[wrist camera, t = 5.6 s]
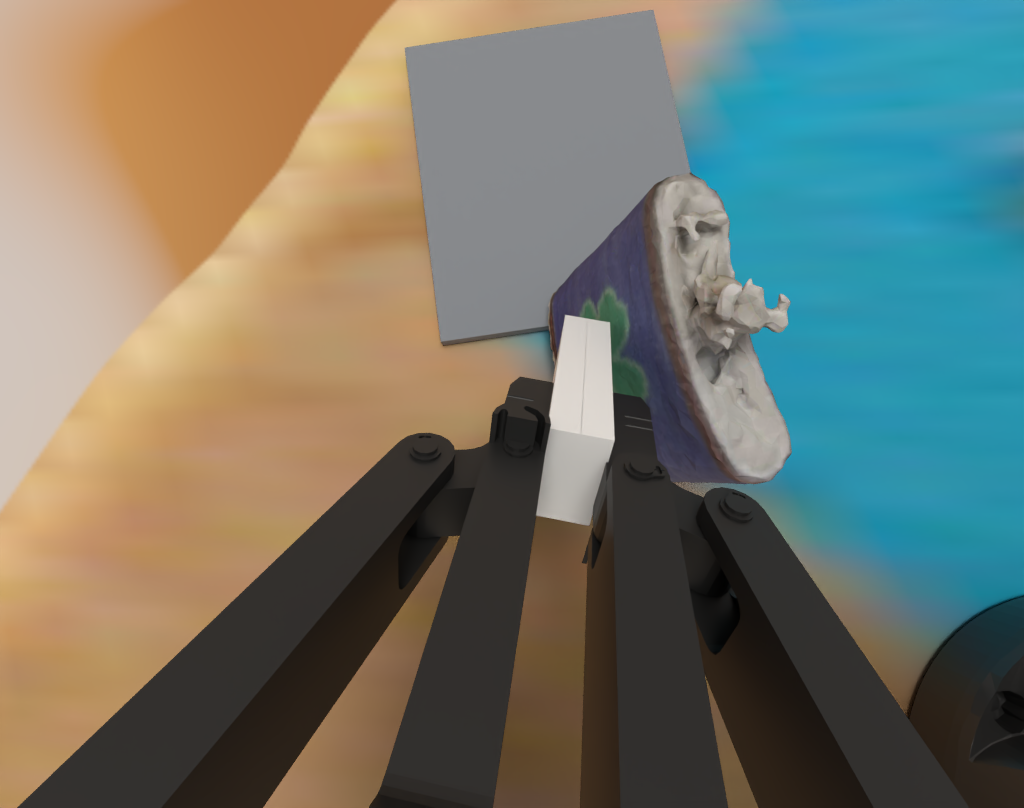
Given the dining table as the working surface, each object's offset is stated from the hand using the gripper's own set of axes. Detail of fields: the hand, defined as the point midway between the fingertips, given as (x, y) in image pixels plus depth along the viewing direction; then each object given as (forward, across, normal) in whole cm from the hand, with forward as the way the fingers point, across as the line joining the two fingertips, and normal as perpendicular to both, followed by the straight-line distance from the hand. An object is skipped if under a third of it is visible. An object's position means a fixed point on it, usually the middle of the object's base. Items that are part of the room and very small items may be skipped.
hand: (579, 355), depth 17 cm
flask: (+4, +1, -3) cm, 5 cm away
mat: (+12, -3, +4) cm, 13 cm away
